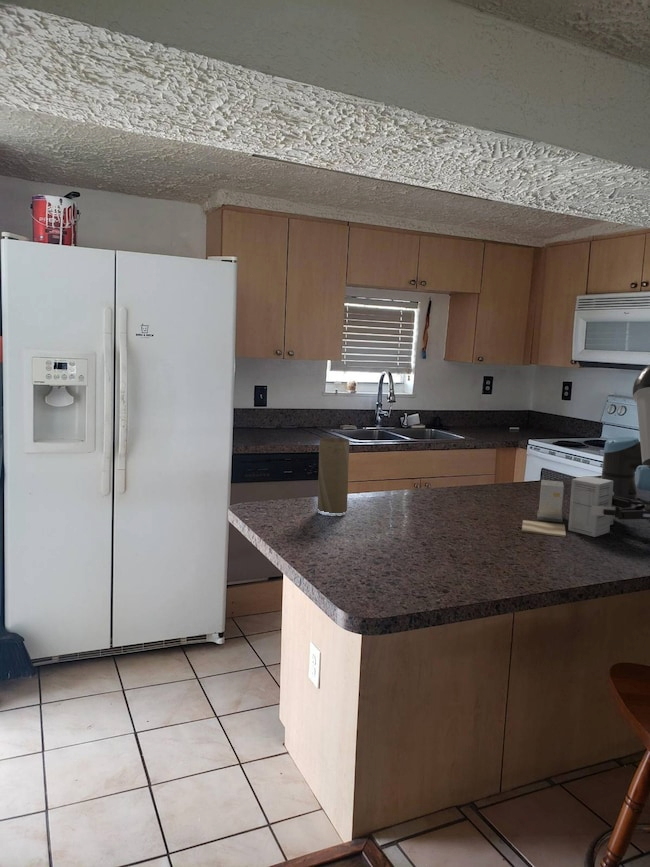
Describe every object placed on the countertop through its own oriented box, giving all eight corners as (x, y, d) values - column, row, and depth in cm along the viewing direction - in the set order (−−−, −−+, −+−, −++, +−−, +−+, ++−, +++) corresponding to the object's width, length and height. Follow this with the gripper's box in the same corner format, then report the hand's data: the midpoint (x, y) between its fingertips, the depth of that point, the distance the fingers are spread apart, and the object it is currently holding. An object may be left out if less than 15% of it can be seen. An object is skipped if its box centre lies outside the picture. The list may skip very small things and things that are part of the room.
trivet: (522, 521, 216) (522, 520, 216) (564, 526, 212) (564, 524, 212) (521, 531, 205) (521, 530, 205) (565, 536, 201) (565, 535, 201)
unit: (537, 512, 228) (539, 479, 226) (561, 515, 225) (564, 481, 223) (537, 519, 219) (539, 484, 217) (562, 522, 217) (565, 487, 215)
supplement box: (610, 532, 207) (615, 480, 204) (595, 537, 201) (600, 484, 198) (582, 525, 214) (586, 475, 212) (566, 530, 208) (571, 478, 206)
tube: (341, 507, 227) (343, 437, 223) (351, 515, 218) (353, 441, 214) (313, 509, 224) (315, 437, 220) (322, 517, 215) (324, 442, 211)
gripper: (670, 535, 188) (591, 526, 195) (655, 513, 212) (585, 506, 218) (673, 509, 187) (594, 502, 193) (658, 490, 211) (587, 484, 217)
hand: (589, 504), depth 206 cm, fingers open, 13 cm apart
